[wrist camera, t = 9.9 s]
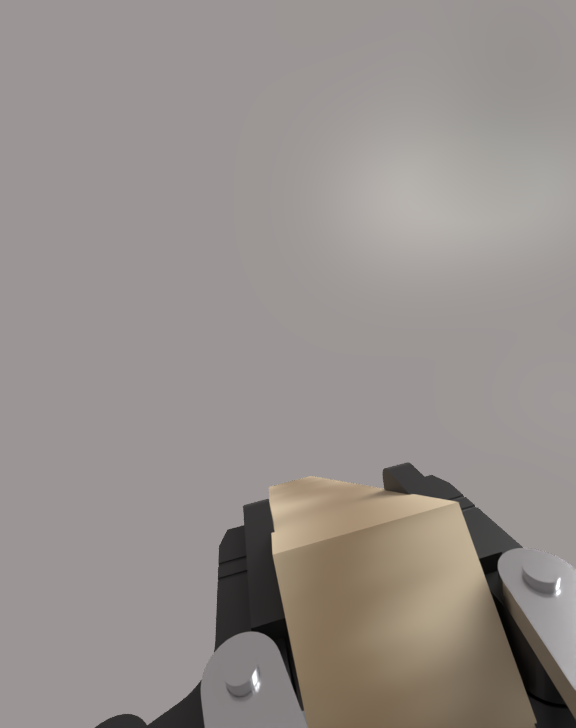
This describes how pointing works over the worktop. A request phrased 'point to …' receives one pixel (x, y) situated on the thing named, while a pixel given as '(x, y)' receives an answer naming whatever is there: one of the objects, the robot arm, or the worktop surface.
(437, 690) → the bar
